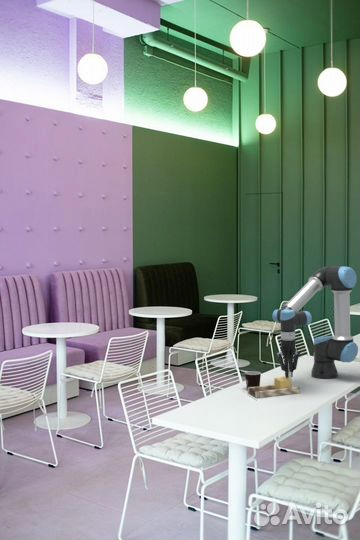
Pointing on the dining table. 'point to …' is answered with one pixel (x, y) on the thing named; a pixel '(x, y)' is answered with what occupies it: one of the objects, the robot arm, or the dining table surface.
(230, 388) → the dining table surface
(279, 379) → the mustard block
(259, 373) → the coffee mug
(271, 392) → the brown checkered tray
